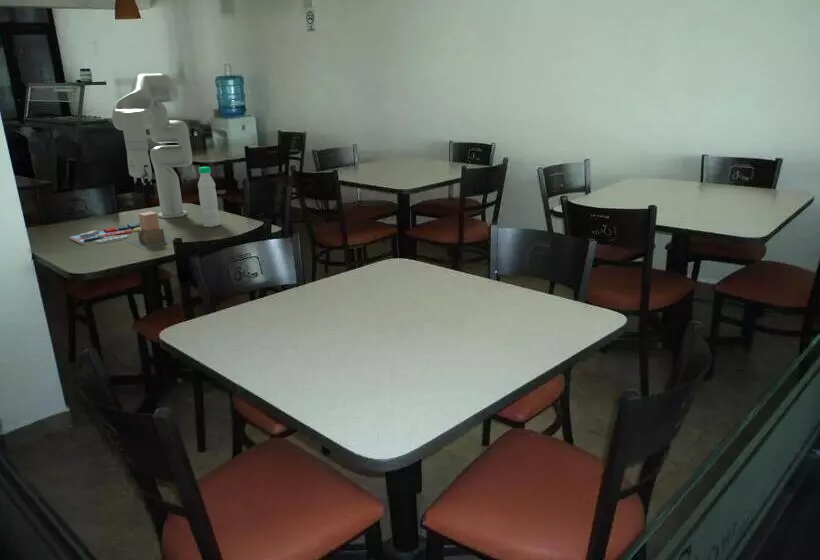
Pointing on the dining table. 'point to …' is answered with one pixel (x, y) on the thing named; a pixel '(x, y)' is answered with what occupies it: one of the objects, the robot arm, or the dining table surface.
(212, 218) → the water bottle
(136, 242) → the mat
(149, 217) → the top block
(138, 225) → the puzzle board
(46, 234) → the dining table surface
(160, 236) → the base block
